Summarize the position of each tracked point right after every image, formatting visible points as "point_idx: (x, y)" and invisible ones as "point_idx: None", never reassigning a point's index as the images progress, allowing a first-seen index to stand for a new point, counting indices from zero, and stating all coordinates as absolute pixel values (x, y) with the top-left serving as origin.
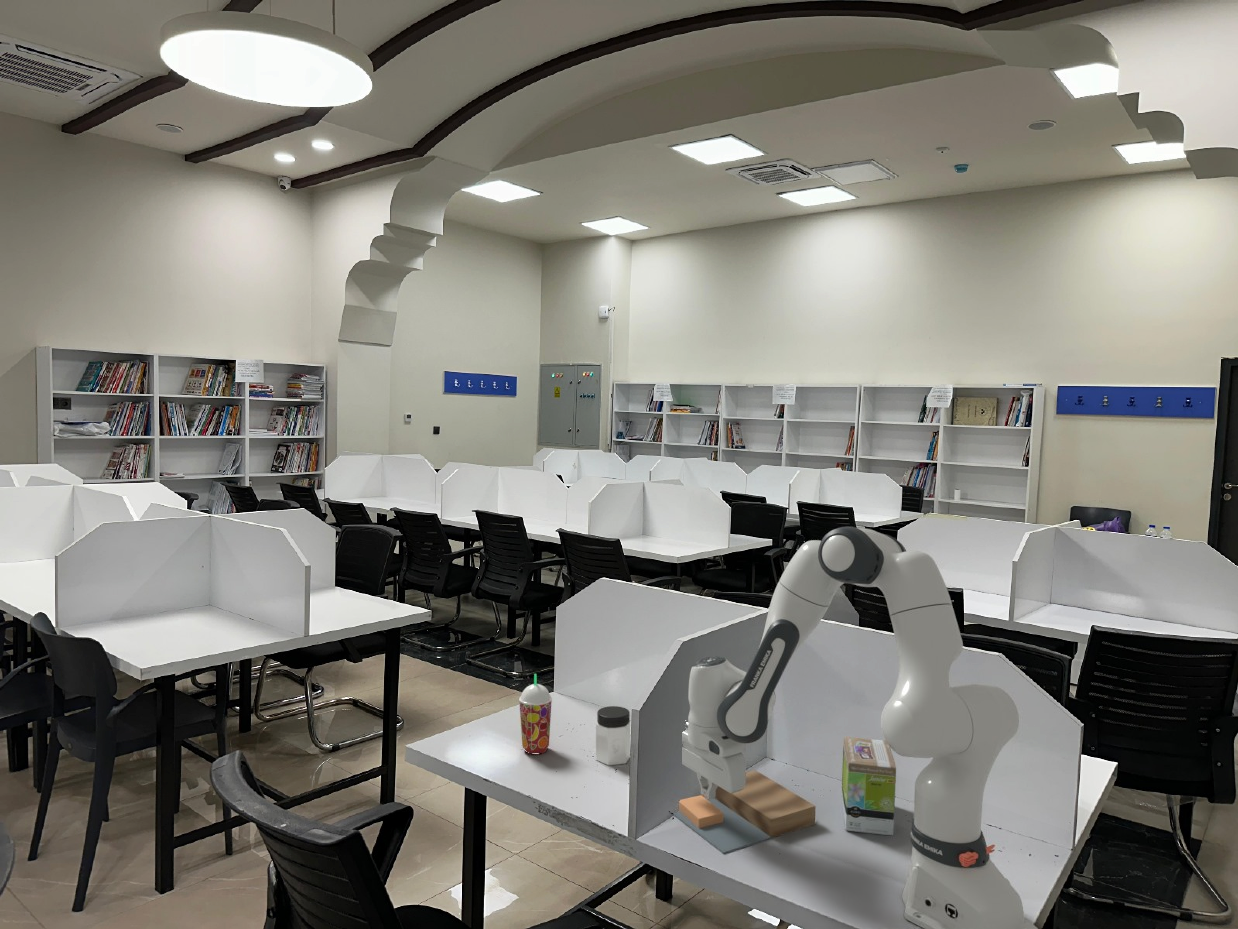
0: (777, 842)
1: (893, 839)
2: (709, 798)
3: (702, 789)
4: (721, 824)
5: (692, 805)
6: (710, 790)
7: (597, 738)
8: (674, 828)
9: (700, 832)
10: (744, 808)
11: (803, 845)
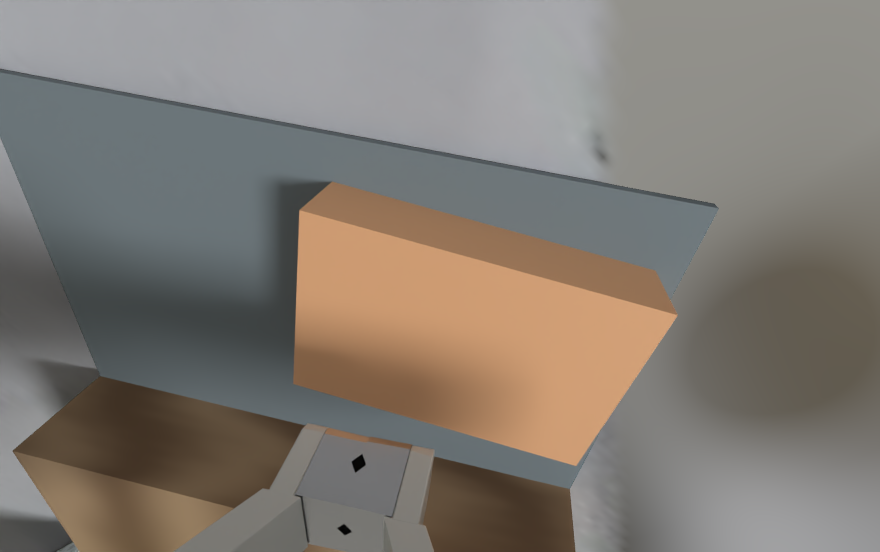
0: (71, 365)
1: (34, 544)
2: (303, 428)
3: (392, 494)
4: None
5: (511, 332)
6: (241, 508)
7: None
8: (465, 25)
9: (271, 144)
10: (267, 474)
11: (32, 405)
